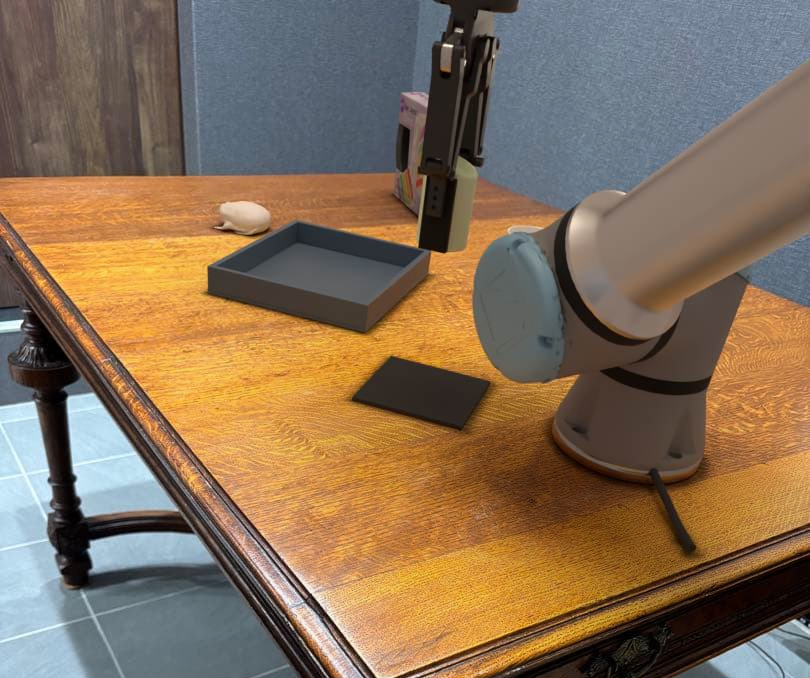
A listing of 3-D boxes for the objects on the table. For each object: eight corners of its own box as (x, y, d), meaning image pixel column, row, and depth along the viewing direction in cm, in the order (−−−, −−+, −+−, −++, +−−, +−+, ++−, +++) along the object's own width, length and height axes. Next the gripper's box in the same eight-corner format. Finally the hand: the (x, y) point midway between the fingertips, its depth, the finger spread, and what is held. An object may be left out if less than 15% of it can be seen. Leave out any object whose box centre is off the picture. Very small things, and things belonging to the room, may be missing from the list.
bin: (365, 333, 99) (367, 305, 97) (207, 293, 103) (206, 265, 101) (428, 274, 119) (431, 250, 117) (294, 243, 123) (295, 219, 121)
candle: (475, 246, 80) (489, 156, 75) (450, 256, 76) (464, 163, 72) (432, 233, 82) (443, 145, 77) (406, 242, 78) (416, 150, 73)
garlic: (209, 228, 124) (209, 202, 121) (230, 218, 129) (230, 193, 127) (257, 239, 122) (257, 213, 120) (276, 228, 128) (277, 203, 125)
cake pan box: (388, 192, 153) (399, 87, 143) (413, 193, 155) (426, 89, 144) (420, 223, 139) (434, 109, 129) (447, 224, 141) (463, 111, 130)
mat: (461, 429, 82) (462, 426, 82) (351, 400, 84) (352, 396, 84) (490, 384, 91) (490, 381, 91) (390, 358, 94) (391, 355, 93)
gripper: (467, -52, 73) (432, 214, 87) (401, -62, 59) (372, 258, 73) (548, -41, 72) (499, 229, 85) (500, -48, 58) (451, 276, 71)
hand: (441, 242), depth 79 cm, fingers closed on candle, 5 cm apart
